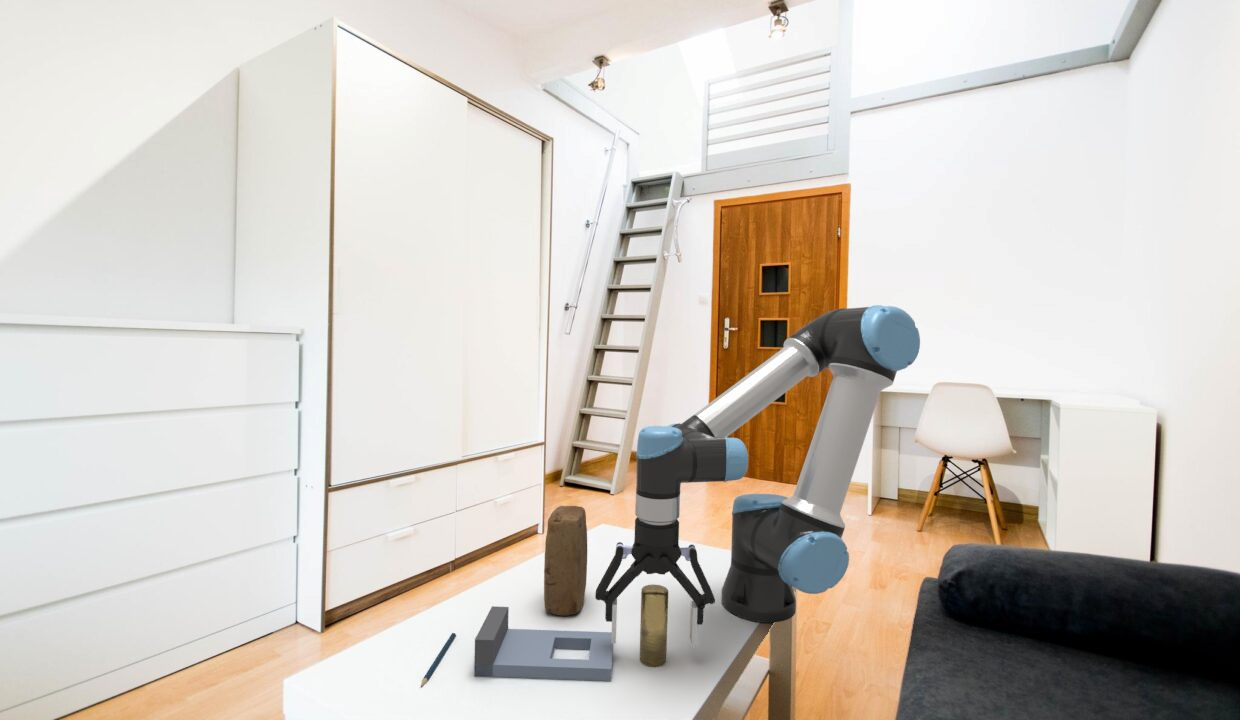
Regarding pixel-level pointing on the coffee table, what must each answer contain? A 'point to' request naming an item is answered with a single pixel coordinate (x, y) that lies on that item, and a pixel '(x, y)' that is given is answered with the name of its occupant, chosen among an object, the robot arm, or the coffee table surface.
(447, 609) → the coffee table surface
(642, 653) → the brass cylinder rod
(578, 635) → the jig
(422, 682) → the pencil
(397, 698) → the coffee table surface
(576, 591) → the block
